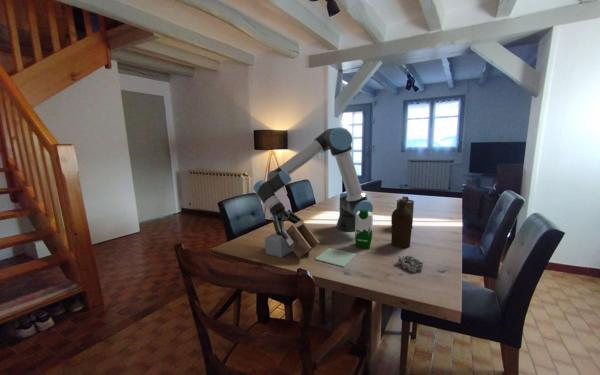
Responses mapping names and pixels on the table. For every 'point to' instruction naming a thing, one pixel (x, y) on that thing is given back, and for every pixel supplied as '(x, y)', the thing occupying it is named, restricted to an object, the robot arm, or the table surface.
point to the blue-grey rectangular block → (277, 245)
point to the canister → (407, 204)
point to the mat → (336, 257)
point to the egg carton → (411, 263)
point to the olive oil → (401, 225)
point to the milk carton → (363, 229)
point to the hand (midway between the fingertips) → (299, 239)
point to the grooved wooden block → (301, 238)
